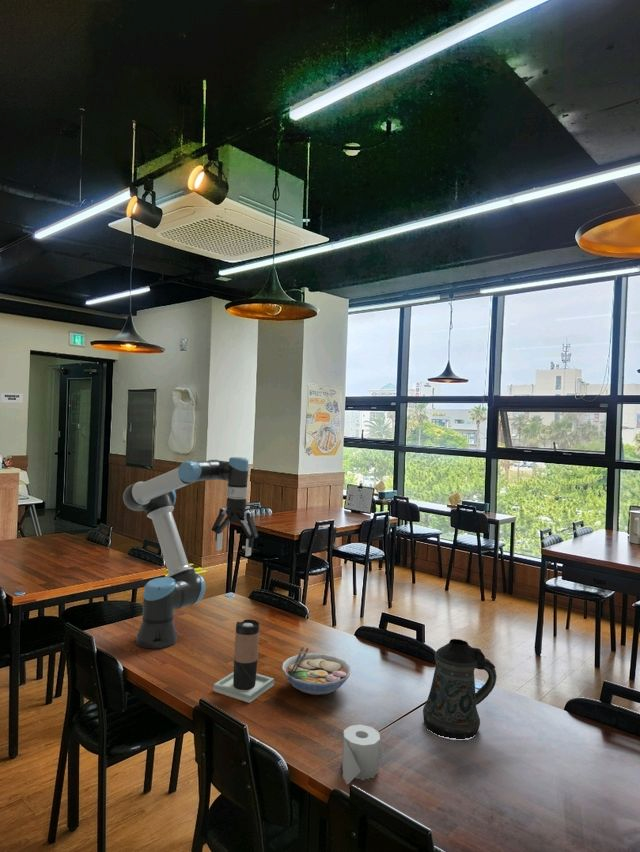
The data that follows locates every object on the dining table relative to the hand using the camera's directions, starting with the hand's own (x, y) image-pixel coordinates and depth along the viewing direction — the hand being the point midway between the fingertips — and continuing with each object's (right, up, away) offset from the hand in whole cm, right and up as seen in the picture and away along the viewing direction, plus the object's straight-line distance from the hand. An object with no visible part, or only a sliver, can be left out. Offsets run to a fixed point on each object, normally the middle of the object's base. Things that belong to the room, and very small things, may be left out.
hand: (233, 552), depth 211 cm
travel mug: (+9, -36, -32) cm, 49 cm away
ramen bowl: (+32, -38, -31) cm, 58 cm away
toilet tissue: (+43, -38, -73) cm, 93 cm away
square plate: (+9, -37, -32) cm, 49 cm away
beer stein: (+73, -40, -48) cm, 96 cm away
